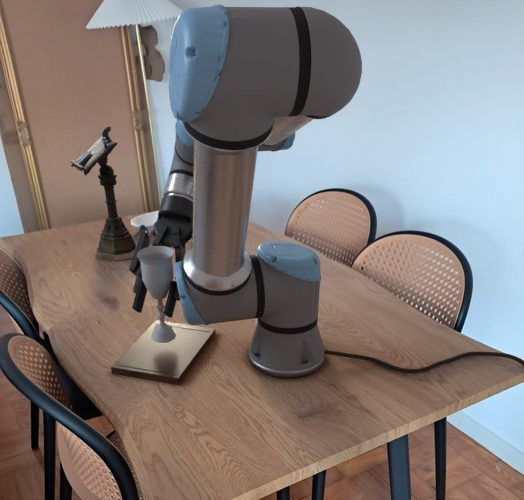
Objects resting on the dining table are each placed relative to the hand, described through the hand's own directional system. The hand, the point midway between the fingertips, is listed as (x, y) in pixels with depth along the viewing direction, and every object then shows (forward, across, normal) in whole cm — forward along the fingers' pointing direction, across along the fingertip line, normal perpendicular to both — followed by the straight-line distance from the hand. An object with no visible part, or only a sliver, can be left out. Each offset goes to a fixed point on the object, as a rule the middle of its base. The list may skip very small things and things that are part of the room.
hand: (152, 312), depth 105 cm
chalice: (+3, 0, -8) cm, 8 cm away
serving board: (+6, -1, -10) cm, 11 cm away
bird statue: (-25, +38, -42) cm, 62 cm away
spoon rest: (-44, +32, -61) cm, 82 cm away
